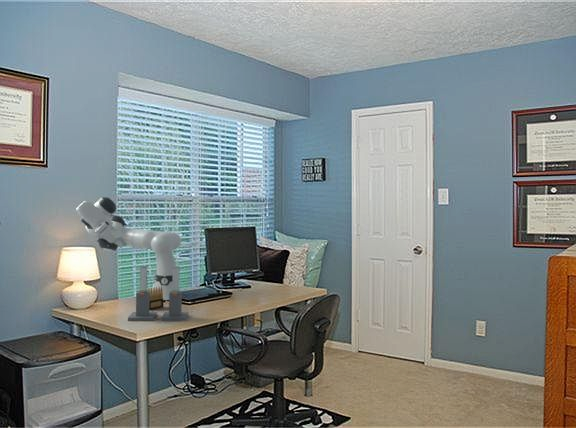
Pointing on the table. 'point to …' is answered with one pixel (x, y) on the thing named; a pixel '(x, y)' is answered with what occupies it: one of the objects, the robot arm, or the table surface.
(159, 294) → the ammunition clip
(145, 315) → the base
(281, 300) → the table surface
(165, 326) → the table surface
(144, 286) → the left jack column
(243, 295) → the table surface
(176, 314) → the right jack stand
